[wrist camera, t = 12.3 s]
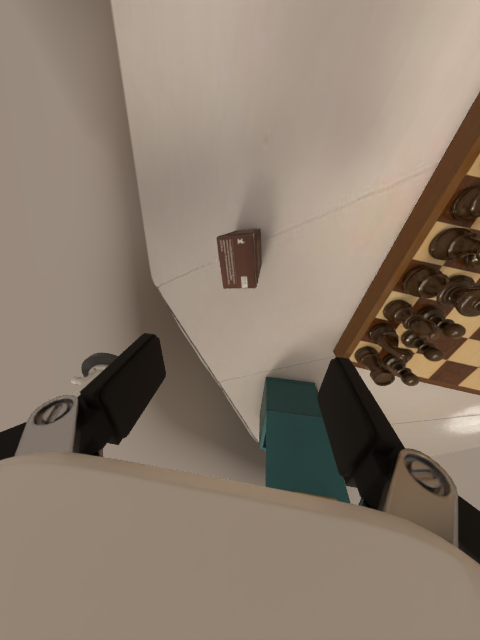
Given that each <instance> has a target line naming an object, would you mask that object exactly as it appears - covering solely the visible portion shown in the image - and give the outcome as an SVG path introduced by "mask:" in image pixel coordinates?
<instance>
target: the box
mask: <svg viewBox="0 0 480 640" xmlns="http://www.w3.org/2000/svg"><path fill="white" fill-rule="evenodd" d="M217 244H218V253H219V260H220V267H221V274H222V281H223V288H224V289H227V288H256V287H257V283H258V278H259V274H260V269H261V232H260V229H251V230H241V231H234V232H231V233H228V234H225V235H221V236H218V237H217Z"/></svg>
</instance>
